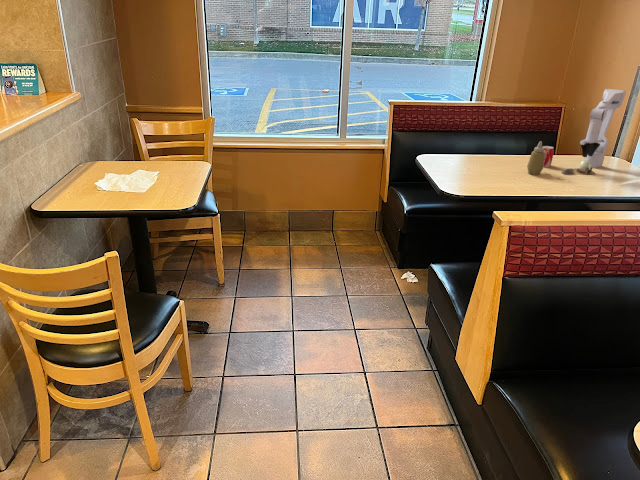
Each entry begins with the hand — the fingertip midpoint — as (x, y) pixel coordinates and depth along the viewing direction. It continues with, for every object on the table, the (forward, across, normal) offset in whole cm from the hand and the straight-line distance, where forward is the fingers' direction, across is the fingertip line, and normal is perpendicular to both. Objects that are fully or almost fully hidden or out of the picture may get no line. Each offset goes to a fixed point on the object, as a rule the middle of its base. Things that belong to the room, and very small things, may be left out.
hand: (587, 156), depth 255 cm
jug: (+9, 0, 0) cm, 9 cm away
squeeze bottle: (+10, -25, +11) cm, 29 cm away
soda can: (+10, -11, +17) cm, 23 cm away
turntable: (+10, -4, +1) cm, 10 cm away
